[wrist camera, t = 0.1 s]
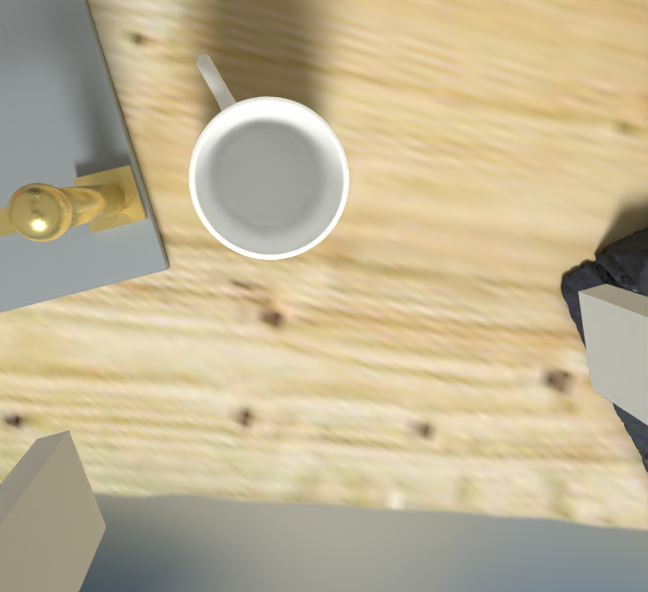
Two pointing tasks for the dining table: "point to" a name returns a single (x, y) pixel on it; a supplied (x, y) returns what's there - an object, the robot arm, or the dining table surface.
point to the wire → (74, 206)
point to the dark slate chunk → (623, 272)
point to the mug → (266, 173)
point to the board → (63, 152)
